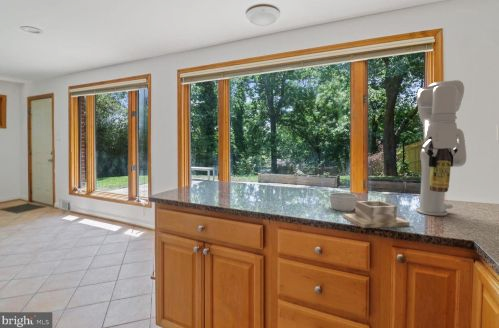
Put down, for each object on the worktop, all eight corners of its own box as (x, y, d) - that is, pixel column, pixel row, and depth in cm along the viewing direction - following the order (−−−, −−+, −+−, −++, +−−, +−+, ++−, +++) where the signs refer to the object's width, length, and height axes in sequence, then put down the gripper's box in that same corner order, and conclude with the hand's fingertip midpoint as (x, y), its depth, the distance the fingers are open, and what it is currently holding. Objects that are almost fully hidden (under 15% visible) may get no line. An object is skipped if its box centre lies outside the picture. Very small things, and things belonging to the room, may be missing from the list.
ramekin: (359, 212, 136) (359, 198, 135) (330, 211, 138) (330, 196, 138) (354, 206, 148) (355, 193, 148) (328, 205, 151) (328, 192, 151)
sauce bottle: (431, 192, 108) (433, 139, 106) (427, 189, 113) (429, 139, 112) (451, 193, 105) (454, 139, 103) (447, 190, 111) (449, 139, 109)
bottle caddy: (384, 215, 129) (385, 199, 129) (409, 225, 114) (410, 207, 113) (343, 217, 126) (343, 200, 126) (363, 228, 111) (364, 209, 110)
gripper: (454, 119, 112) (451, 165, 114) (415, 119, 109) (413, 166, 111) (472, 118, 105) (469, 167, 106) (430, 118, 102) (428, 168, 103)
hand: (440, 166), depth 109 cm, fingers closed on sauce bottle, 6 cm apart
